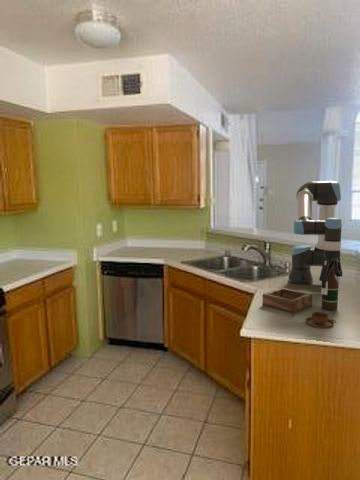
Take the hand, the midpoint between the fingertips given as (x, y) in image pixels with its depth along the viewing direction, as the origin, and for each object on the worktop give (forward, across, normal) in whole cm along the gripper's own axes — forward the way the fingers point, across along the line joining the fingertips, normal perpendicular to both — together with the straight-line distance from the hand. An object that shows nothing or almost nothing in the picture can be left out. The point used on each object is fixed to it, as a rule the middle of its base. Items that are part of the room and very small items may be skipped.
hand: (330, 291), depth 188 cm
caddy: (+9, +10, -18) cm, 22 cm away
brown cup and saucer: (+10, +22, +3) cm, 24 cm away
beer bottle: (+9, 0, 0) cm, 9 cm away
